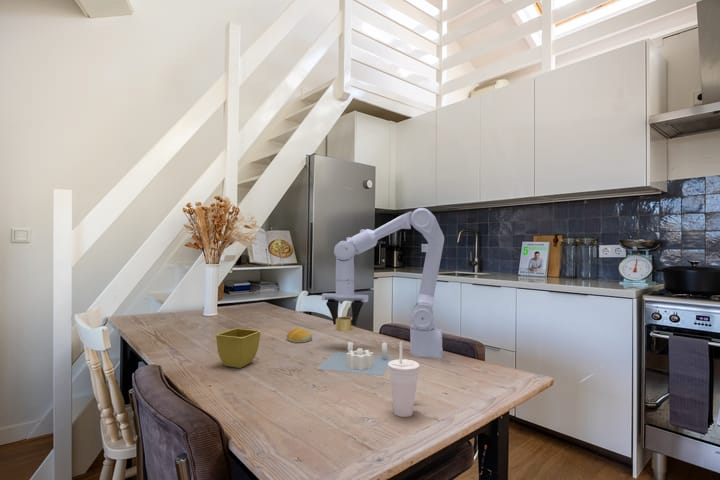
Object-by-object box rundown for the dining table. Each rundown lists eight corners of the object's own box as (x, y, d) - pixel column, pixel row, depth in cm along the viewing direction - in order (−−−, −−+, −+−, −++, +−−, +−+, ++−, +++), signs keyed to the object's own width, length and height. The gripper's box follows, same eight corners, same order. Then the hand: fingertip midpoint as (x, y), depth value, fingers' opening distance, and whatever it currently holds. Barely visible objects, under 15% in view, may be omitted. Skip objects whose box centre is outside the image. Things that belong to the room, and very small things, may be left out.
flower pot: (261, 362, 106) (261, 330, 107) (242, 371, 98) (242, 337, 98) (235, 358, 109) (235, 328, 109) (214, 368, 101) (215, 334, 101)
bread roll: (296, 345, 125) (296, 333, 125) (283, 340, 132) (283, 328, 132) (317, 341, 131) (317, 329, 131) (303, 336, 138) (303, 325, 138)
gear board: (395, 361, 107) (395, 341, 107) (382, 380, 92) (382, 357, 92) (336, 355, 112) (336, 336, 113) (315, 373, 97) (315, 351, 97)
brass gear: (355, 328, 117) (356, 317, 117) (350, 332, 112) (350, 320, 112) (339, 326, 118) (339, 316, 118) (333, 330, 113) (333, 319, 113)
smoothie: (385, 406, 77) (385, 338, 78) (415, 405, 78) (415, 337, 78) (390, 420, 71) (390, 346, 71) (423, 419, 71) (423, 346, 72)
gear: (375, 363, 102) (375, 350, 102) (368, 371, 95) (368, 357, 95) (351, 360, 104) (351, 348, 104) (343, 368, 97) (343, 355, 97)
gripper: (318, 280, 114) (317, 325, 113) (363, 282, 109) (363, 328, 109) (326, 278, 120) (326, 321, 120) (370, 280, 116) (370, 323, 116)
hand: (344, 324), depth 115 cm, fingers closed on brass gear, 5 cm apart
